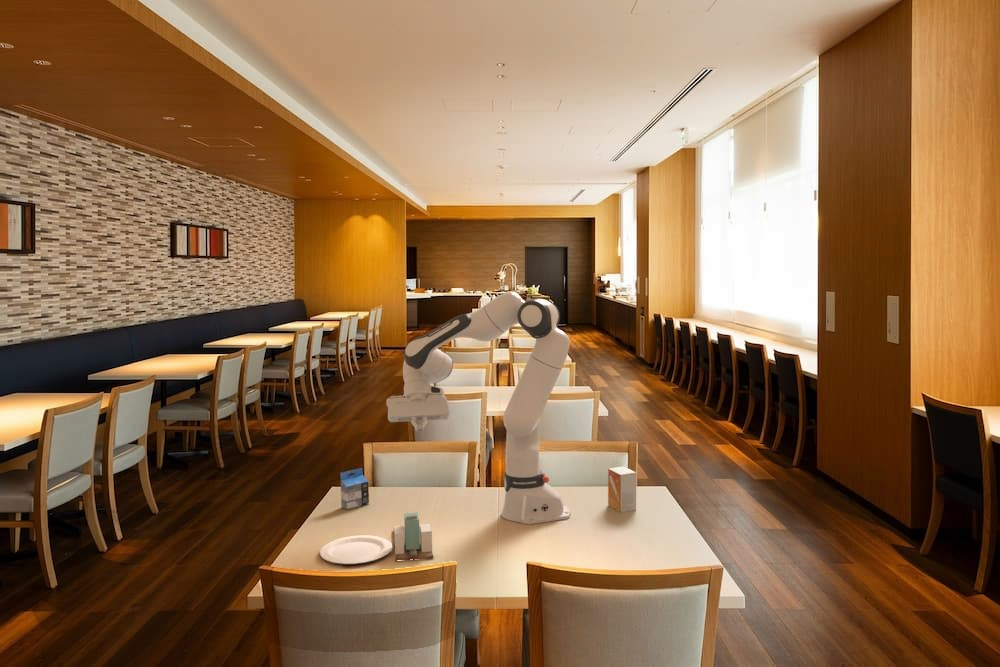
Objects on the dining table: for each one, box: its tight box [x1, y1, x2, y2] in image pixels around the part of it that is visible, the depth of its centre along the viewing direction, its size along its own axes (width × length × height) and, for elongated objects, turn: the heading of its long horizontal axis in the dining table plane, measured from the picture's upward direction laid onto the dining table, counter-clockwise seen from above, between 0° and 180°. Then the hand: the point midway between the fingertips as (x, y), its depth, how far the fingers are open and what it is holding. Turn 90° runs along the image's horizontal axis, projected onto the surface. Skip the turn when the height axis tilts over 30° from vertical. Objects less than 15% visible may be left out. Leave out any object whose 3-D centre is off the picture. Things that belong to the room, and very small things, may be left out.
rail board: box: [393, 525, 434, 561], centre depth 224 cm, size 10×24×1 cm, turn 9°
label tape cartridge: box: [340, 467, 370, 511], centre depth 258 cm, size 9×4×12 cm, turn 131°
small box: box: [607, 465, 637, 513], centre depth 253 cm, size 8×6×13 cm
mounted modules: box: [393, 523, 433, 554], centre depth 218 cm, size 10×6×6 cm, turn 99°
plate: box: [319, 534, 393, 566], centre depth 219 cm, size 21×21×2 cm
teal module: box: [403, 512, 420, 550], centre depth 219 cm, size 4×6×10 cm, turn 9°
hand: (419, 430), depth 243 cm, fingers closed
